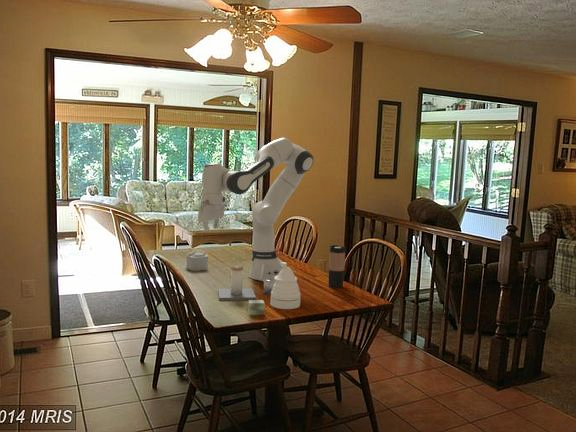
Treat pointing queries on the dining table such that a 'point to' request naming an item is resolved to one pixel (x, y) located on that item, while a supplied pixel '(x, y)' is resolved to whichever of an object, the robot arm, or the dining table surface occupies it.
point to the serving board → (226, 295)
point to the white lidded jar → (236, 279)
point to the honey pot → (285, 290)
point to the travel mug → (336, 266)
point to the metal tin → (268, 285)
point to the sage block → (256, 307)
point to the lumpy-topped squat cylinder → (197, 261)
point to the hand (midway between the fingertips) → (211, 229)
